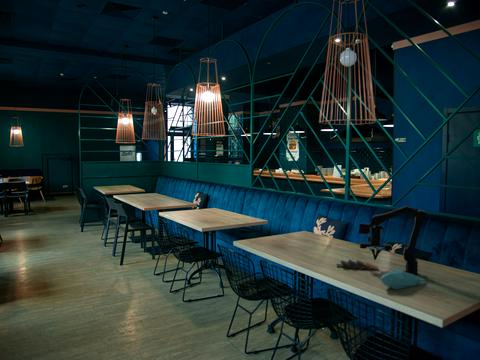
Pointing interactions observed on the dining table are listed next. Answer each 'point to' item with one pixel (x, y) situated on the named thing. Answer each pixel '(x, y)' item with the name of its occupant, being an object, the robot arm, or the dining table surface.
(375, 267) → the domino
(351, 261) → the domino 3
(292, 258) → the dining table surface
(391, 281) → the crystal
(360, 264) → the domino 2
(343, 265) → the domino
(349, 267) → the domino
